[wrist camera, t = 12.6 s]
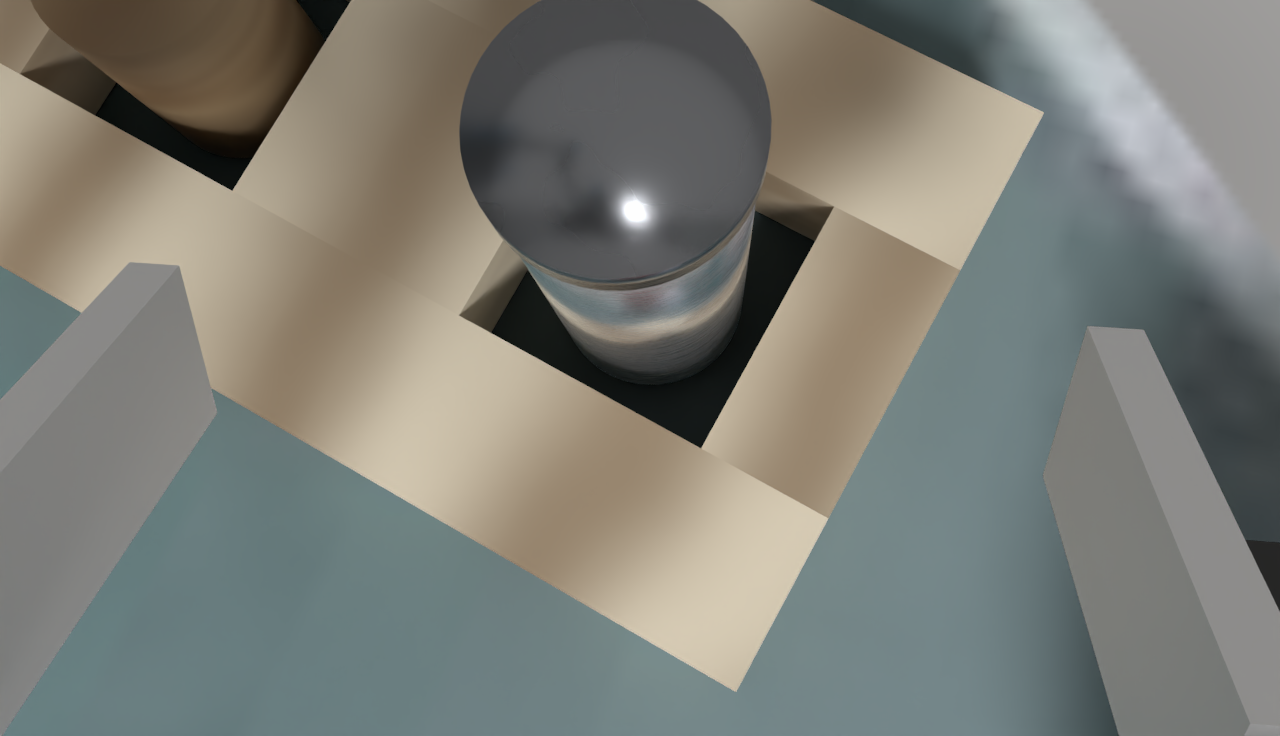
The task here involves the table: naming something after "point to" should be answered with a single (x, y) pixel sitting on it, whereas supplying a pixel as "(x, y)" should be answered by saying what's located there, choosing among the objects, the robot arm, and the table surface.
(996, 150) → the block
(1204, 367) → the table surface
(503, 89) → the metal cylinder
